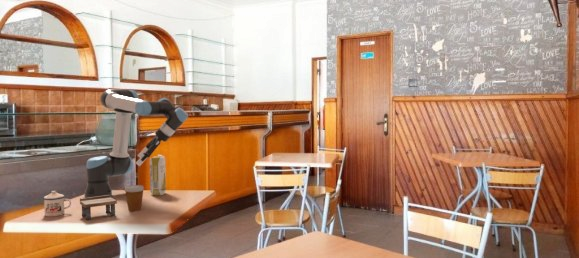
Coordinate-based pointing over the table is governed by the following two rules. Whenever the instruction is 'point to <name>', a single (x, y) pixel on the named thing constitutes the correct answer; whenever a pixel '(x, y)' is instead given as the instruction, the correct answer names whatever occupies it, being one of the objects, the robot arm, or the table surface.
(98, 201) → the peg shelf
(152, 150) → the robot arm
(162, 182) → the juice carton
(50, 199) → the teacup with lid
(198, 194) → the table surface
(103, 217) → the table surface
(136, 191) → the disposable coffee cup
